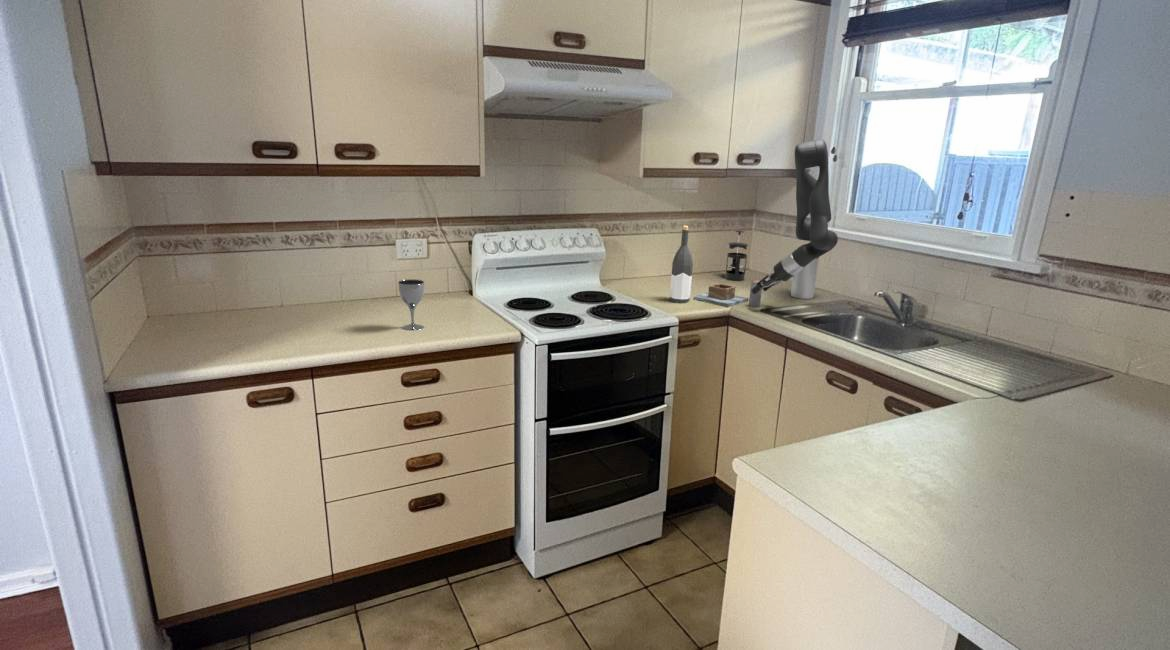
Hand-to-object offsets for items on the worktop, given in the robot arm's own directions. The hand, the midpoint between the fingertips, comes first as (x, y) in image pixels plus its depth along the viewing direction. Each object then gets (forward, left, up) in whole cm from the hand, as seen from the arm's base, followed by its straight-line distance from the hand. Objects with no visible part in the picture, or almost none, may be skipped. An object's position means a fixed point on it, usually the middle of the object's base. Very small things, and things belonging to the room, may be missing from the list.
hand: (758, 290), depth 247 cm
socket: (+2, -15, -6) cm, 16 cm away
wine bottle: (+17, -25, -7) cm, 31 cm away
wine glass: (+118, -59, -7) cm, 132 cm away
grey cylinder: (0, -1, -6) cm, 7 cm away
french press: (-41, -34, -7) cm, 54 cm away
